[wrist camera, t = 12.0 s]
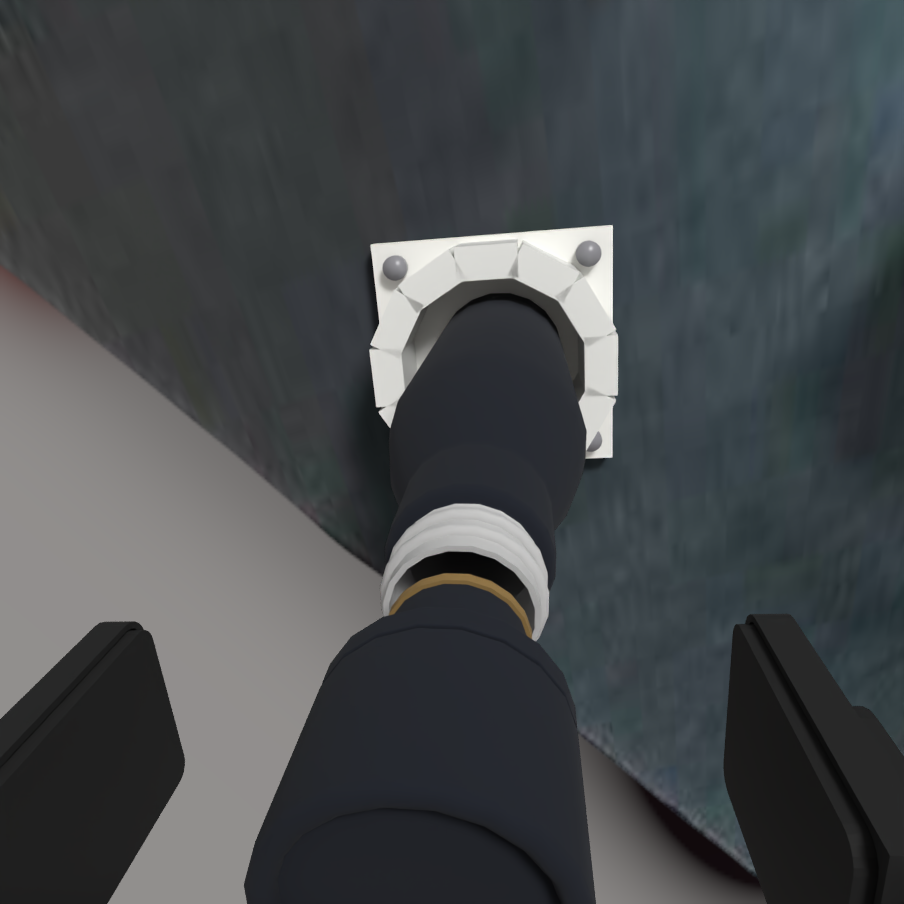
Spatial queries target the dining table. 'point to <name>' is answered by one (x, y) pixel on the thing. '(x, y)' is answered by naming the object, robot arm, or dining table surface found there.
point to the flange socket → (501, 271)
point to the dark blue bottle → (452, 654)
